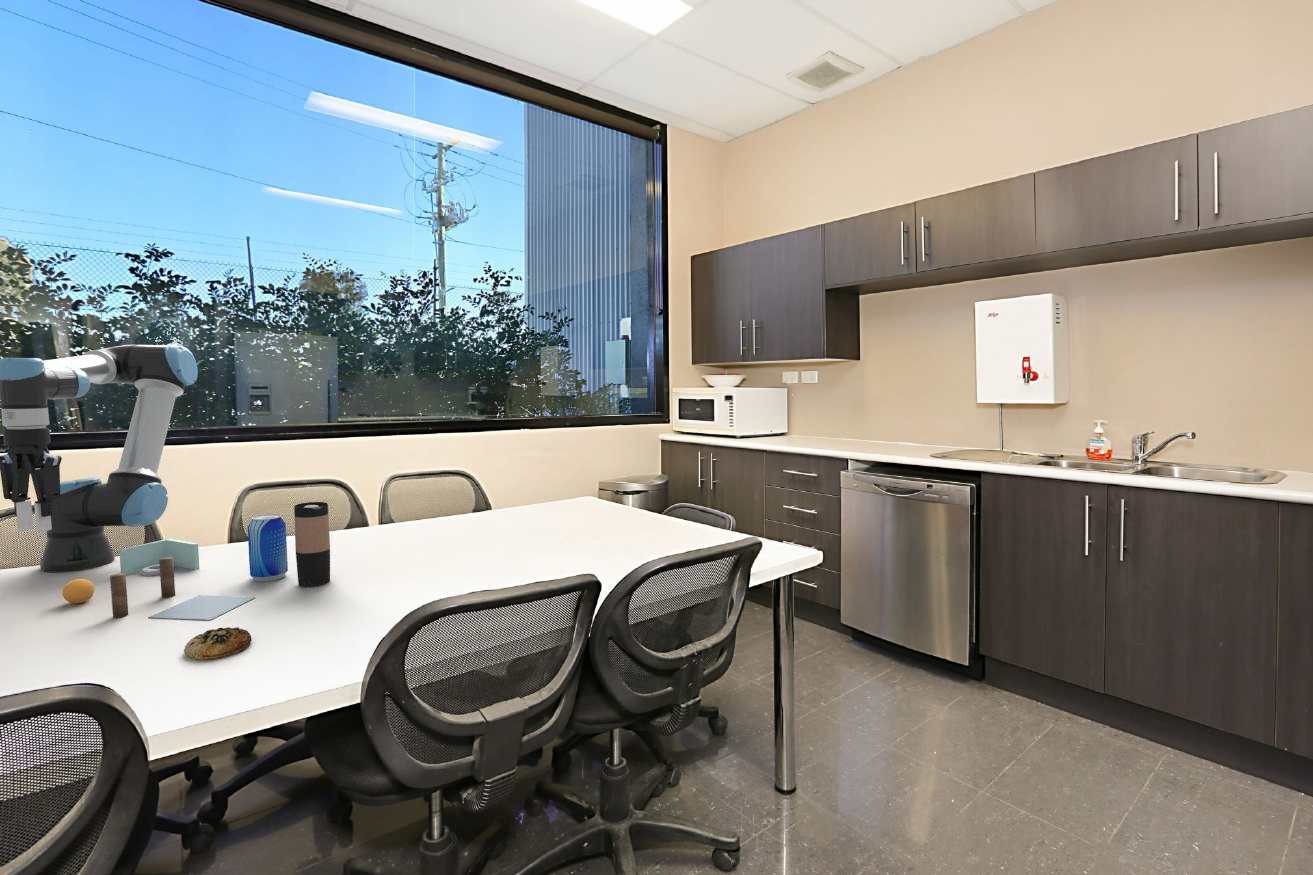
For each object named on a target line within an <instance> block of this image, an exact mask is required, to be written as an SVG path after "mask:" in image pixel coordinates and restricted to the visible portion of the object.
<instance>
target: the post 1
mask: <svg viewBox="0 0 1313 875" xmlns="http://www.w3.org/2000/svg"><path fill="white" fill-rule="evenodd" d="M109 579H110V580H109V581H110V582H109V583H110V593H111V597H110V598H111V610H112V618H113V619H117V618H118V619H119V618H124V617H128V616H129V603H128V589H127V575H126V574H125V573H121V572H119V573H115V574H111V575H110V576H109Z"/></svg>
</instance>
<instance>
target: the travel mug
mask: <svg viewBox="0 0 1313 875" xmlns="http://www.w3.org/2000/svg"><path fill="white" fill-rule="evenodd" d="M293 509H294V512H293V513H294V538H295V539H294V540H295V544H294V545H295V558H296V559H295V560H296V572H297V584H298V587H301V588H316V587H321V585H322V586H325V585H328V584H329V583H330V582H331V537H330V523H329V522H330V520H329V519H330V518H329V504H328V503H327V502H325V501H312V502H311V501H310V502H308V501H307V502H303V503H301V502H300V503H298V504H295V505H294V506H293ZM328 582H329V583H328Z"/></svg>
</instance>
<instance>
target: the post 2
mask: <svg viewBox="0 0 1313 875" xmlns="http://www.w3.org/2000/svg"><path fill="white" fill-rule="evenodd" d="M159 565H160V575H159V579H160V595H161V598H162V599H166V598H172V597H173V598H174V597H175V596H176V587H175V586H176V585H175V566H173V557H165V558H161V559H159Z"/></svg>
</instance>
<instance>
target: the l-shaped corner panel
mask: <svg viewBox="0 0 1313 875" xmlns="http://www.w3.org/2000/svg"><path fill="white" fill-rule="evenodd" d="M118 552H119V566H120V573H125V574H126V576H128V575H133V574H137V573H140V574H141V575H142V576H145V577H151V576H160V565H159V559H161V558H165V557H173V566H174V567H178V566H179V567H180V568H184V567H186V568H185V569H189V568H190V569H191V570H195V569H196V570H199V569H200V558H199V557H200V556H199V543H198V542H192V541H184V540H180V539H173V538H167V539H162V540H156V541H153V542H152V541H151V542H148V543H147V542H146V543H143V544H138V545H134V546H129V547H124V548H120V549H119V550H118Z"/></svg>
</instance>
